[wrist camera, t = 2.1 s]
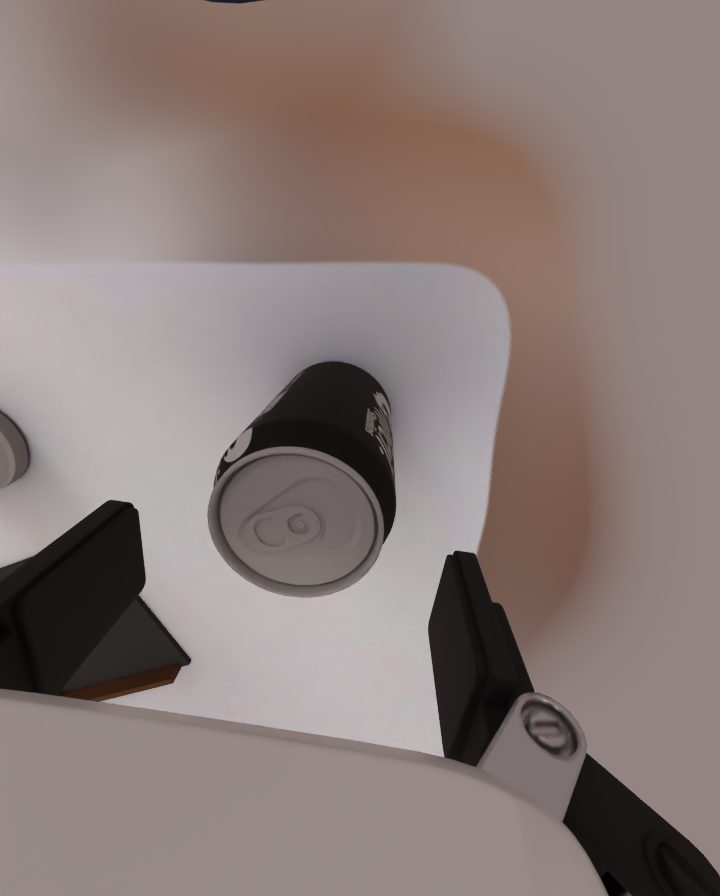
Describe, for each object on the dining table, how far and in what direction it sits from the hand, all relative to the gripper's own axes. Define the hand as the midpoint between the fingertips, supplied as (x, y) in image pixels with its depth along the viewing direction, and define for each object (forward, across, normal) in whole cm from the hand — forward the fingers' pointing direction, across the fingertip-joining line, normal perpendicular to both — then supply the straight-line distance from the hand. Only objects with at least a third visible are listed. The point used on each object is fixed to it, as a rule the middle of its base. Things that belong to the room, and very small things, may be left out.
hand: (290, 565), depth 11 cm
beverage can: (+13, 0, -1) cm, 13 cm away
